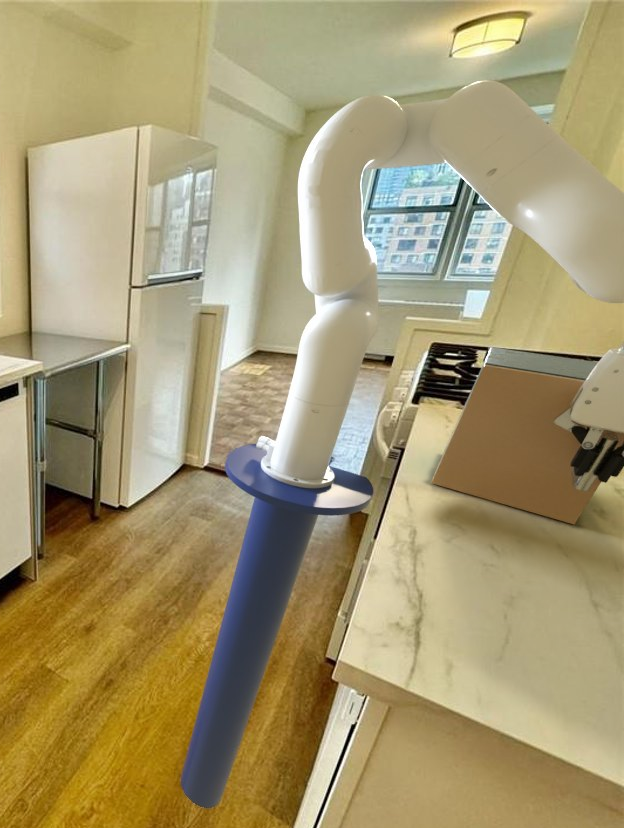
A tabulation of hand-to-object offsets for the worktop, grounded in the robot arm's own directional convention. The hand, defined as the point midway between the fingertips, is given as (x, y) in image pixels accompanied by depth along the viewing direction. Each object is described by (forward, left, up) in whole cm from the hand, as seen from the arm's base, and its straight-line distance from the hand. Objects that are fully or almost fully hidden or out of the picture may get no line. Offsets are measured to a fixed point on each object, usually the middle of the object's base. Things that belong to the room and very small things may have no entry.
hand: (589, 474), depth 68 cm
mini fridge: (-10, +12, -11) cm, 19 cm away
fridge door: (-7, +2, -11) cm, 13 cm away
